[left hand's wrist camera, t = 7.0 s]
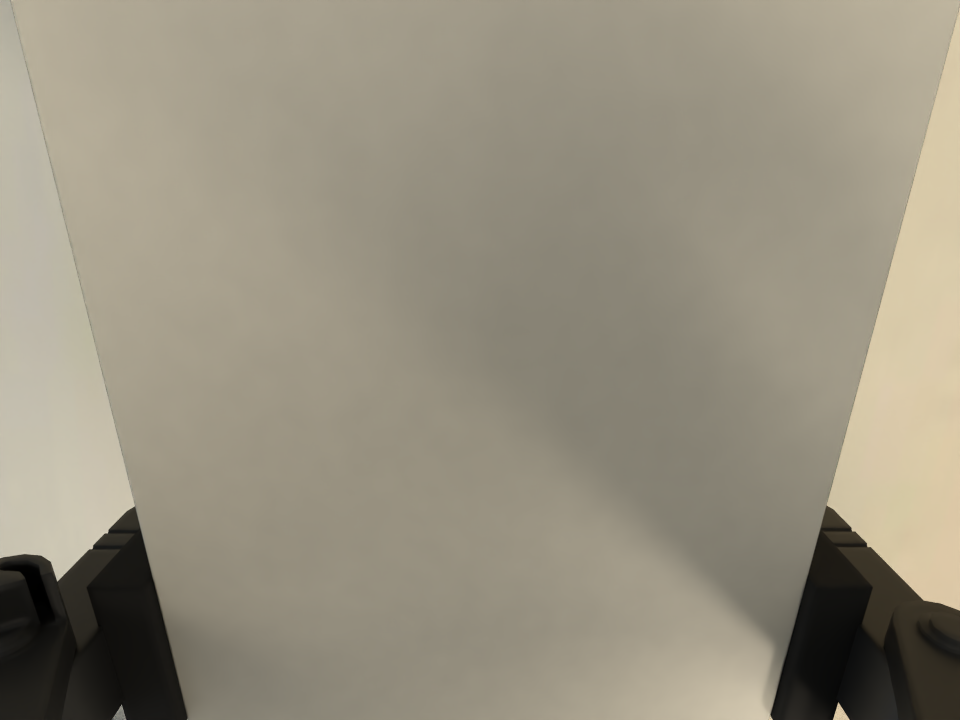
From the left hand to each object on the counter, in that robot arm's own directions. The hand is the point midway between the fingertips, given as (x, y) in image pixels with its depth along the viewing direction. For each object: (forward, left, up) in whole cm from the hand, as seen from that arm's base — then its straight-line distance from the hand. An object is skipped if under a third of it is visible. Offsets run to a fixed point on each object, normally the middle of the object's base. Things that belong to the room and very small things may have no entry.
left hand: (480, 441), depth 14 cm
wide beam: (+23, -17, 0) cm, 29 cm away
